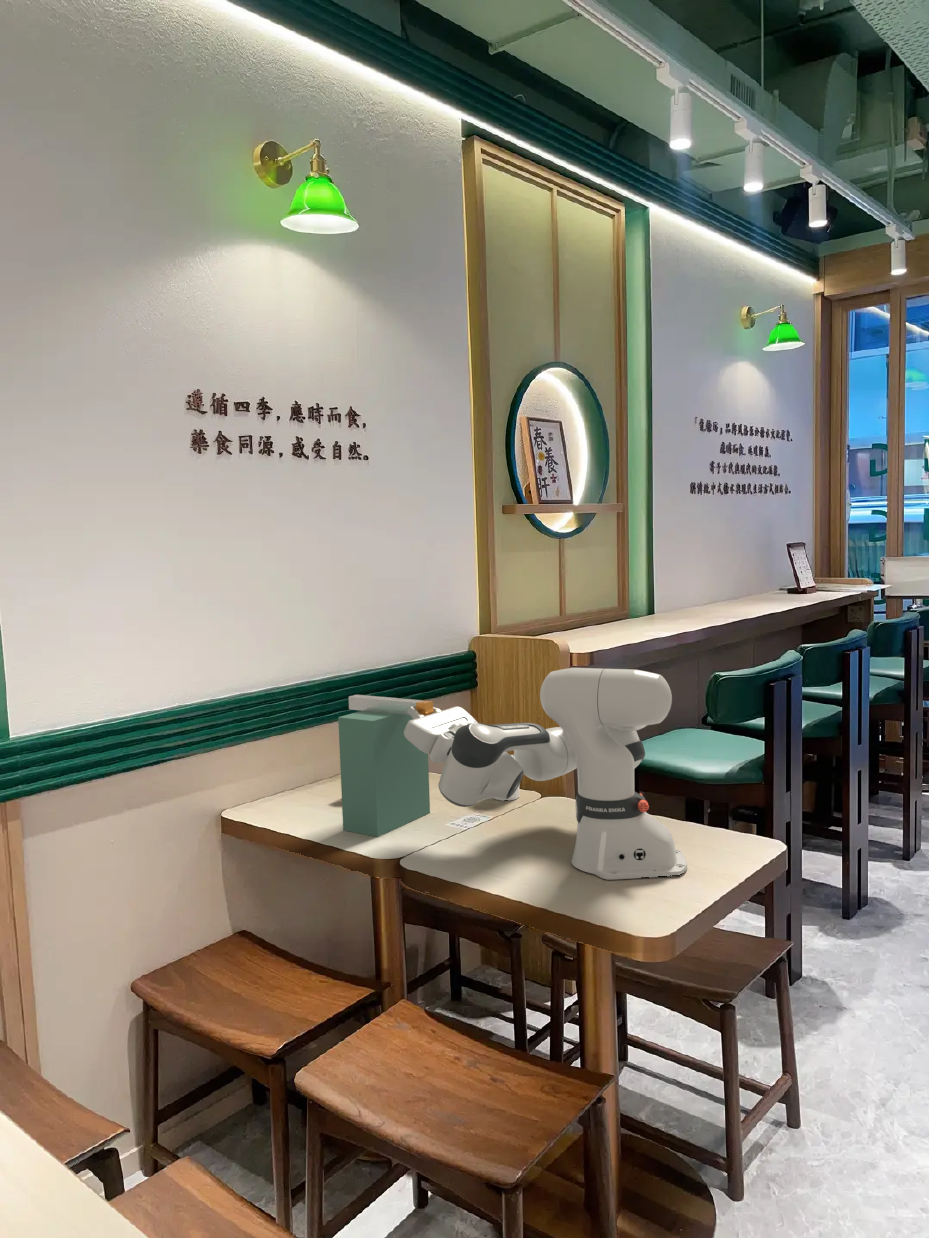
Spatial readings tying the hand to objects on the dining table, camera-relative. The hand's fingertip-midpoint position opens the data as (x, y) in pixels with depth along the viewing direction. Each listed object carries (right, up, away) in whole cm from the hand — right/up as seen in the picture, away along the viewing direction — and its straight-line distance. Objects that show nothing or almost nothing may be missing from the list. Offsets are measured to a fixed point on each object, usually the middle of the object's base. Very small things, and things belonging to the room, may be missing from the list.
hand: (415, 707), depth 209 cm
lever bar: (-6, -1, +4) cm, 8 cm away
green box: (-7, -27, +8) cm, 29 cm away
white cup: (+21, -25, +25) cm, 41 cm away
